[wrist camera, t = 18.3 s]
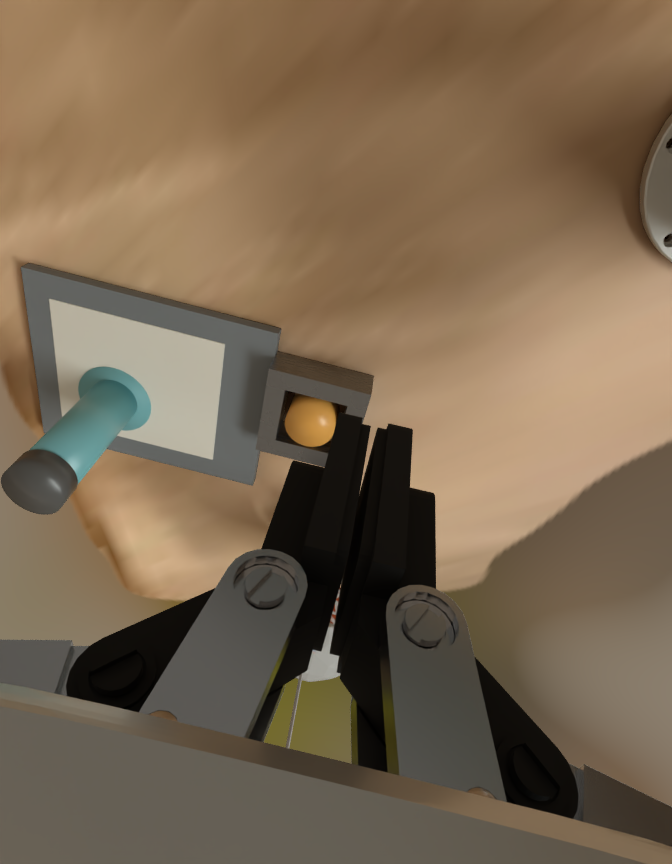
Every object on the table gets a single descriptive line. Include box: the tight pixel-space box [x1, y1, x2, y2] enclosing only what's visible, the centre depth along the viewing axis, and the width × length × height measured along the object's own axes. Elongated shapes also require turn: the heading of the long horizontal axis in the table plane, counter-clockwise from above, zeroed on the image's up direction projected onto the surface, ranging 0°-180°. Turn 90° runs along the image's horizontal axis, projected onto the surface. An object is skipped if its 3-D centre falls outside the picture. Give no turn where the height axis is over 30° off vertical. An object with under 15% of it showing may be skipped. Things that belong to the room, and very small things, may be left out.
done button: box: [285, 393, 339, 447], centre depth 43 cm, size 4×4×3 cm
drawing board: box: [21, 263, 281, 486], centre depth 45 cm, size 20×16×1 cm
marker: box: [1, 380, 137, 514], centre depth 40 cm, size 4×4×12 cm
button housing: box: [255, 351, 374, 467], centre depth 43 cm, size 8×8×3 cm
